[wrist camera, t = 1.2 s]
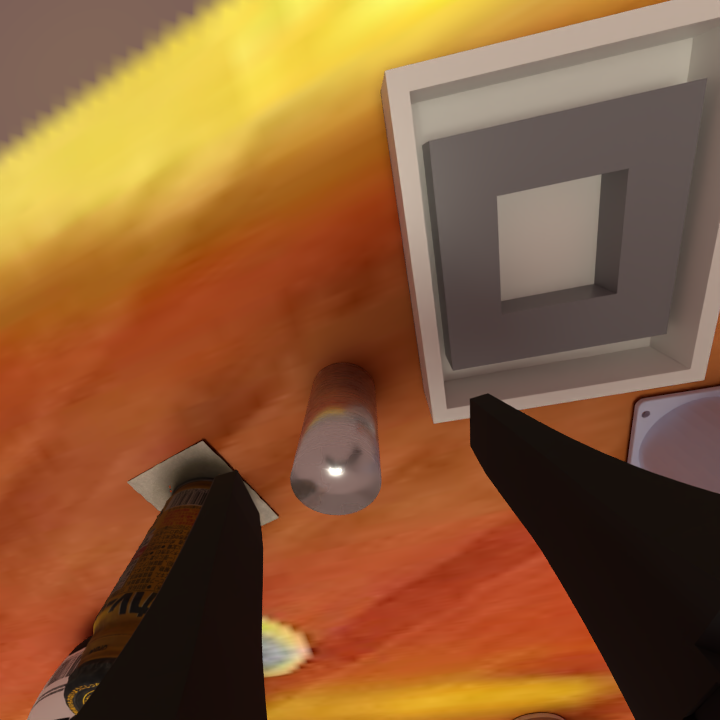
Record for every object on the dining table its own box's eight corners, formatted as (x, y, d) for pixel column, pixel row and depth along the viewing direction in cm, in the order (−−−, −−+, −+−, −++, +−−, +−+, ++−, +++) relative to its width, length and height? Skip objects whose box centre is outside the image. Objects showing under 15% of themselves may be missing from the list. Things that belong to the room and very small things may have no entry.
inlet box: (655, 352, 22) (704, 380, 19) (424, 391, 24) (433, 423, 21) (707, 13, 16) (793, -30, 13) (380, 91, 17) (385, 70, 14)
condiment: (207, 549, 30) (120, 755, 19) (128, 480, 27) (-28, 679, 16) (279, 515, 28) (229, 719, 18) (204, 437, 25) (88, 626, 15)
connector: (380, 412, 24) (388, 508, 17) (320, 421, 25) (303, 520, 18) (368, 357, 23) (372, 438, 15) (305, 368, 23) (279, 453, 16)
